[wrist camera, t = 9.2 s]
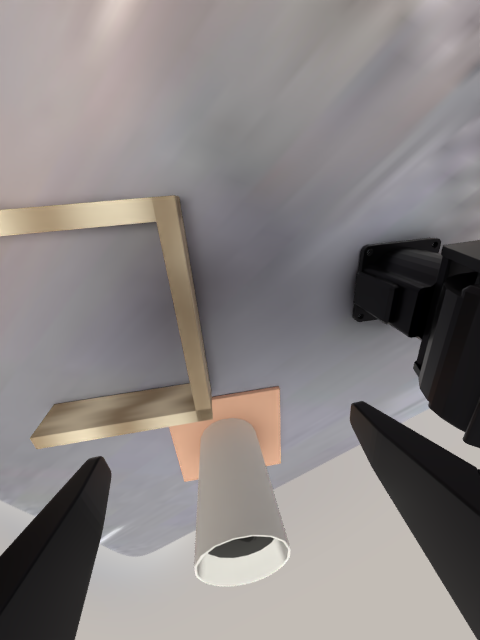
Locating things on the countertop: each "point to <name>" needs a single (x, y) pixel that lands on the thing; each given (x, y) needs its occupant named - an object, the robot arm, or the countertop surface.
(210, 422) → the terracotta mat
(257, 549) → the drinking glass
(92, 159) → the countertop surface
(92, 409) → the beige angled bar
